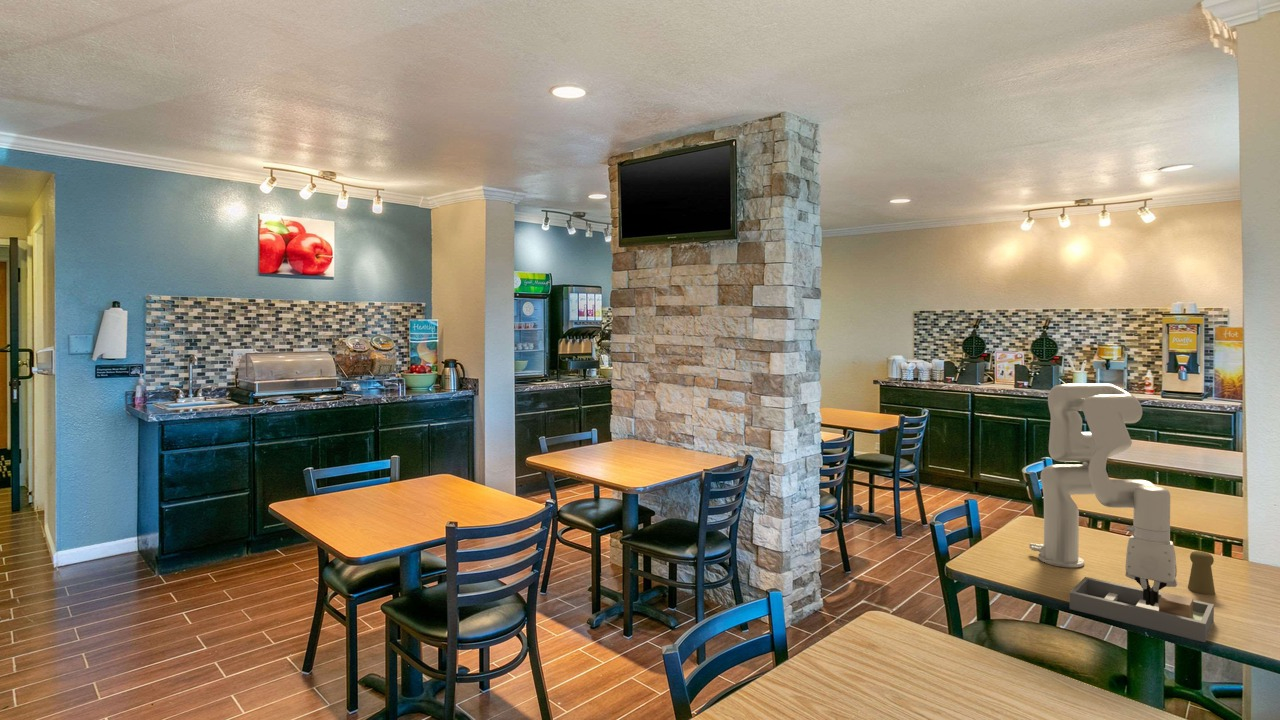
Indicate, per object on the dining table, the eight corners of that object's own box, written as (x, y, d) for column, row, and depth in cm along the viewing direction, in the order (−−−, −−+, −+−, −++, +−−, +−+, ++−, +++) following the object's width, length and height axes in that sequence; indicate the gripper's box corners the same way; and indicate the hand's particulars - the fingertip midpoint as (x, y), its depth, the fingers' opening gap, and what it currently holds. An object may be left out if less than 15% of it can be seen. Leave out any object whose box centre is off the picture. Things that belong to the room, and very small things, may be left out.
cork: (1220, 595, 186) (1221, 556, 186) (1195, 593, 187) (1196, 555, 187) (1206, 587, 192) (1207, 549, 192) (1182, 585, 193) (1183, 548, 193)
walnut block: (1158, 616, 169) (1159, 598, 169) (1163, 609, 173) (1163, 592, 173) (1189, 623, 164) (1189, 605, 164) (1192, 616, 168) (1193, 598, 168)
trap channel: (1069, 608, 179) (1069, 592, 179) (1085, 592, 190) (1085, 576, 190) (1205, 642, 158) (1205, 624, 158) (1213, 621, 170) (1213, 604, 169)
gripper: (1113, 531, 174) (1112, 600, 175) (1186, 543, 164) (1185, 617, 164) (1119, 525, 180) (1119, 592, 180) (1190, 537, 169) (1190, 608, 169)
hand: (1150, 603), depth 172 cm, fingers closed
